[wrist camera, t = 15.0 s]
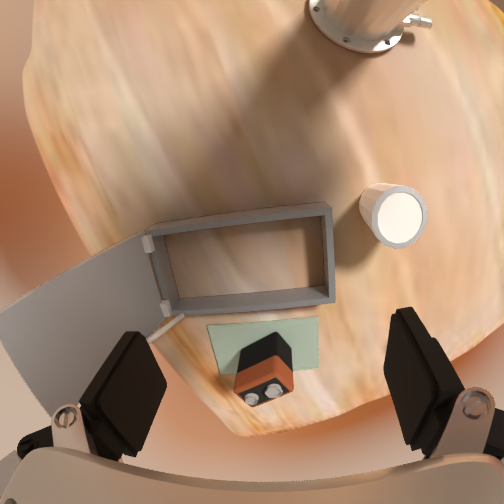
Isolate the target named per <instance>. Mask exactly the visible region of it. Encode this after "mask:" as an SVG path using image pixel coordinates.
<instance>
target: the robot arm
mask: <svg viewBox="0 0 504 504" xmlns="http://www.w3.org/2000/svg"><path fill="white" fill-rule="evenodd" d="M426 1H427V0H309V11H310V15H311V17H312V20H313V22H314V23H315V24H316V26H317V27H318V29H319V30H320V31H321V32H322V33H323V34H324V35H325V36H327V37H328V38H329V39H330V40H332V41H333V42H335V43H337V44H338V45H340V46H342V47H345V48H347V49H349V50H353V51H356V52H361V53H379V52H384V51H386V50H388V49H390V48H392V47H393V46H394V45H396V44H397V43H398V41H399V40H400V39H401V37H402V35H403V30H404V26H405V27H411V25H414V26H417V27H422V28H427V29H430V28H431V27H432V21H431V19H430V17H428V16H423V15H419V14H412V13H413V12H414V11H417V10H418V8H419V7H420V6H421V5H422V4H423V3H424V2H426ZM315 11H317V12H315ZM344 41H346V42H347V43H345V42H344ZM384 375H385V378H386V381H387V384H388V387H389V390H390V394H391V397H392V400H393V403H394V406H395V410H396V413H397V416H398V420H399V423H400V426H401V430H402V433H403V437H404V441H405V443H406V445H409V444H410V446H411V450H412V451H414V450H417V449H420V448H421V450H422V453H423V454H424V455H425V456H424V457H423V459H422V460H421V461H417V462H413V463H408V464H404V465H400V466H396V467H391V468H387V469H383V470H378V471H372V472H367V473H361V474H355V475H349V476H343V477H336V478H328V479H318V480H306V481H290V482H243V481H225V480H213V479H204V478H195V477H188V476H182V475H175V474H169V473H164V472H159V471H154V470H149V469H145V468H140V467H136V466H132V465H128V464H124V463H123V460H122V458H121V456H122V454H123V453H124V455H128V456H132V457H136V455H137V453H138V451H141V450H142V448H143V445H144V442H145V440H146V437H147V435H148V432H149V430H150V427H151V425H152V422H153V420H154V417H155V415H156V413H157V410H158V408H159V405H160V403H161V400H162V398H163V395H164V393H165V391H166V388H167V382H166V379H165V378H164V376H163V374H162V371H161V369H160V367H159V366H158V363H157V361H156V359H155V357H154V355H153V353H152V351H151V349H150V346H149V344H148V342H147V340H146V337H145V336H144V335H142V334H141V333H140V332H139V331H126V332H125V333H124V334H123V335H122V337H121V338H120V340H119V341H118V342H117V344H116V345H115V347H114V348H113V350H112V351H111V353H110V354H109V355H108V357H107V358H106V360H105V361H104V363H103V364H102V366H101V367H100V369H99V370H98V372H97V373H96V375H95V376H94V378H93V379H92V381H91V383H90V384H89V386H88V387H87V389H86V390H85V392H84V393H83V395H82V396H81V398H80V400H79V401H78V402H79V403H80V404H81V407H80V408H79V407H78V406H77V405H74V404H66V405H63V406H61V407H60V408H58V409H57V410H56V411H55V413H54V414H53V416H52V420H51V426H49V427H46V428H43V429H41V430H39V431H36V432H34V433H31V434H29V435H27V436H25V437H23V438H22V439H21V440H20V442H19V443H18V447H17V452H16V451H15V450H14V451H13V452H11V453H10V454H9V455H7V456H6V457H5V458H3V459H2V460H1V461H0V504H504V411H503V410H500V409H497V408H495V401H494V398H493V396H492V395H491V394H490V393H489V392H488V391H487V390H485V389H483V388H479V387H472V388H468V389H466V390H465V388H464V386H463V385H462V383H461V381H460V379H459V377H458V375H457V373H456V372H455V370H454V368H453V366H452V364H451V363H450V361H449V359H448V357H447V356H446V354H445V352H444V351H443V349H442V347H441V346H440V344H439V342H438V341H437V340H436V338H431V336H430V334H429V333H428V331H427V329H426V328H425V326H424V325H423V323H422V321H421V320H420V318H419V317H418V315H417V314H416V312H415V310H414V309H413V308H412V307H406V308H401V309H397V310H396V313H395V314H392V316H391V322H390V330H389V337H388V344H387V350H386V356H385V362H384Z"/></svg>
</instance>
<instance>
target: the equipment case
mask: <svg viewBox="0 0 504 504" xmlns="http://www.w3.org/2000/svg"><path fill="white" fill-rule="evenodd" d="M312 216H321V225H322V239H323V255H324V275H325V285H322V286H313V287H304V288H295V289H286V290H276V291H265V292H255V293H244V294H232V295H220V296H206V297H192V298H179V294H178V291H177V287H176V283H175V280H174V276H173V272H172V268H171V264H170V260H169V256H168V252H167V248H166V244H165V240H164V235H167V234H174V233H181V232H188V231H195V230H203V229H210V228H218V227H226V226H234V225H242V224H250V223H258V222H267V221H275V220H284V219H293V218H303V217H312ZM141 239H142V243H143V247H144V251H145V253H150V255H151V259H152V263H153V266H154V270H155V273H156V277H157V281H158V284H159V287H160V291H161V294H162V297H163V300H162V303H160V306H161V309H162V312H163V315H164V317H171V316H177V317H175V318H174V319H173V320H171V321H170V322H168V323H167V324H166V325H164V326H163V327H162V328H160V329H159V330H158V331H156V332H155V333H154V334H152V335H151V336H150V337H148V338H147V339H146V340H147V342H148V344H150V343H151V342H153V341H154V340H155V339H157V338H158V337H159V336H161V335H162V334H163V333H165V332H166V331H167V330H169V329H170V328H171V327H172V326H174V325H175V324H176V323H178V322H179V321H180V320H182V319H183V318H184V316H185V315H205V314H221V313H236V312H249V311H261V310H272V309H283V308H293V307H302V306H311V305H320V304H328V303H335V260H334V239H333V222H332V208H331V206H330V205H329V204H328V203H327V202H318V203H308V204H299V205H290V206H281V207H272V208H264V209H255V210H247V211H240V212H232V213H225V214H217V215H210V216H203V217H196V218H189V219H183V220H176V221H170V222H164V223H157V224H154V225H153V226H151V227H150V228H149V229H147V230H146V231H145V235H144V237H142V238H141Z"/></svg>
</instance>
